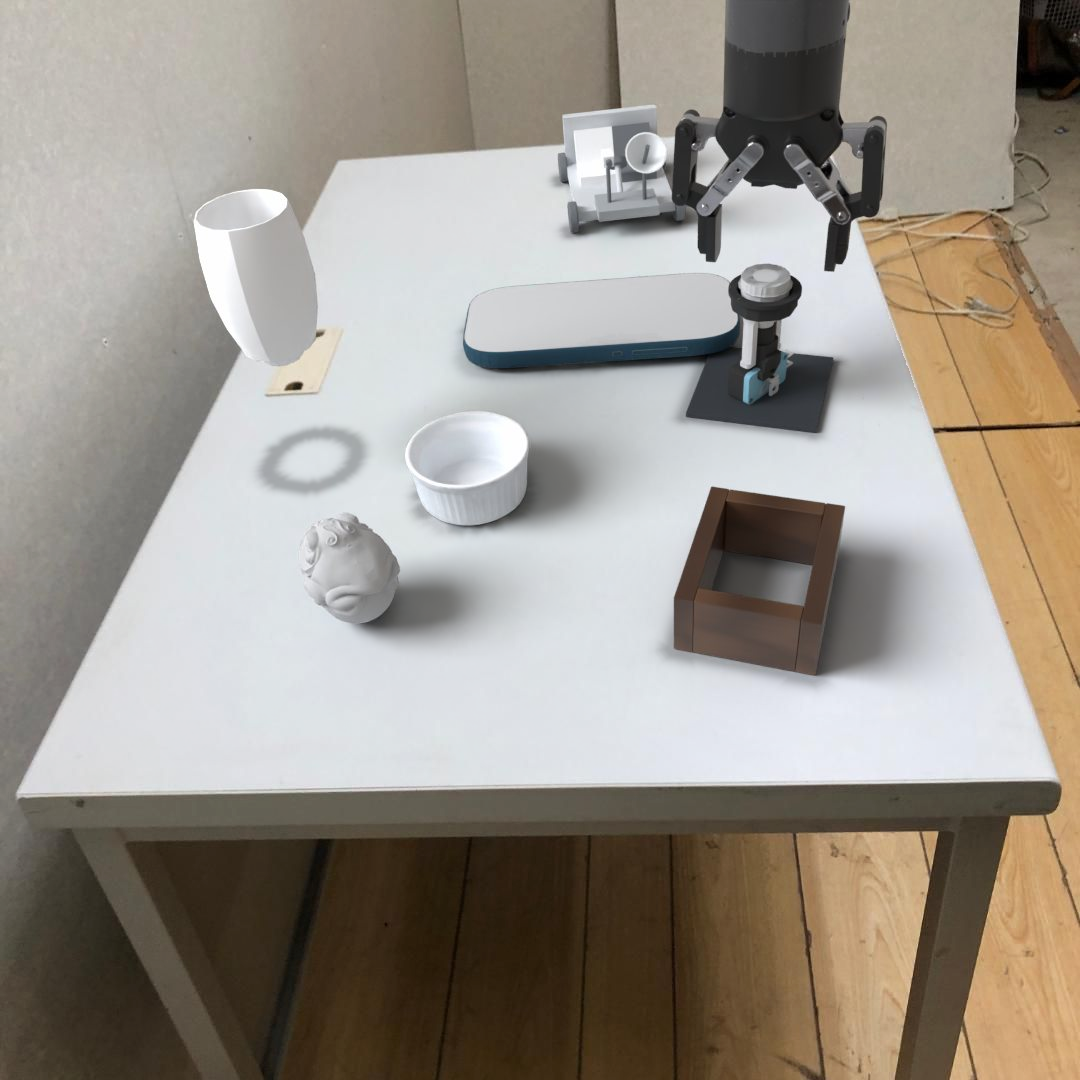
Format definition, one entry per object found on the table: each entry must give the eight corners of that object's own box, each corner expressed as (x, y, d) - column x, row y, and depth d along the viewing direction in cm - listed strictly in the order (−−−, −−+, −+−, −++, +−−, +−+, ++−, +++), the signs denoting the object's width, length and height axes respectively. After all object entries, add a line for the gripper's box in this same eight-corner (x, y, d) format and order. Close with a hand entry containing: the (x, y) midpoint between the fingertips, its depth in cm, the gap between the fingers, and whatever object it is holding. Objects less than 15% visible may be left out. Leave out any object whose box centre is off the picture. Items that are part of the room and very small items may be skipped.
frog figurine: (367, 561, 74) (346, 484, 69) (430, 610, 70) (412, 531, 65) (294, 608, 71) (268, 530, 66) (355, 662, 67) (331, 583, 62)
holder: (838, 556, 70) (845, 505, 67) (815, 676, 63) (822, 624, 60) (709, 536, 73) (711, 486, 70) (673, 649, 66) (673, 597, 63)
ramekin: (546, 461, 81) (542, 414, 78) (516, 539, 74) (510, 491, 71) (436, 451, 83) (428, 405, 80) (398, 526, 76) (387, 479, 73)
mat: (833, 361, 87) (833, 357, 87) (815, 433, 80) (816, 428, 80) (712, 348, 90) (712, 344, 90) (685, 416, 83) (685, 412, 83)
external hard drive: (730, 289, 96) (730, 269, 95) (743, 358, 88) (744, 337, 86) (473, 307, 99) (470, 288, 97) (461, 376, 90) (458, 356, 89)
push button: (763, 356, 88) (771, 244, 81) (817, 379, 85) (829, 265, 78) (710, 391, 85) (713, 278, 78) (763, 417, 82) (771, 301, 75)
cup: (367, 430, 86) (307, 182, 72) (349, 487, 80) (281, 232, 66) (280, 432, 86) (204, 188, 72) (257, 490, 81) (170, 237, 67)
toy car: (690, 139, 98) (566, 153, 99) (689, 237, 105) (573, 250, 105) (661, 72, 112) (552, 85, 112) (662, 163, 118) (558, 175, 119)
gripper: (660, 45, 66) (663, 279, 77) (897, 48, 62) (866, 295, 73) (687, 7, 72) (687, 232, 82) (908, 8, 67) (877, 245, 78)
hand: (771, 262), depth 78 cm, fingers open, 8 cm apart
